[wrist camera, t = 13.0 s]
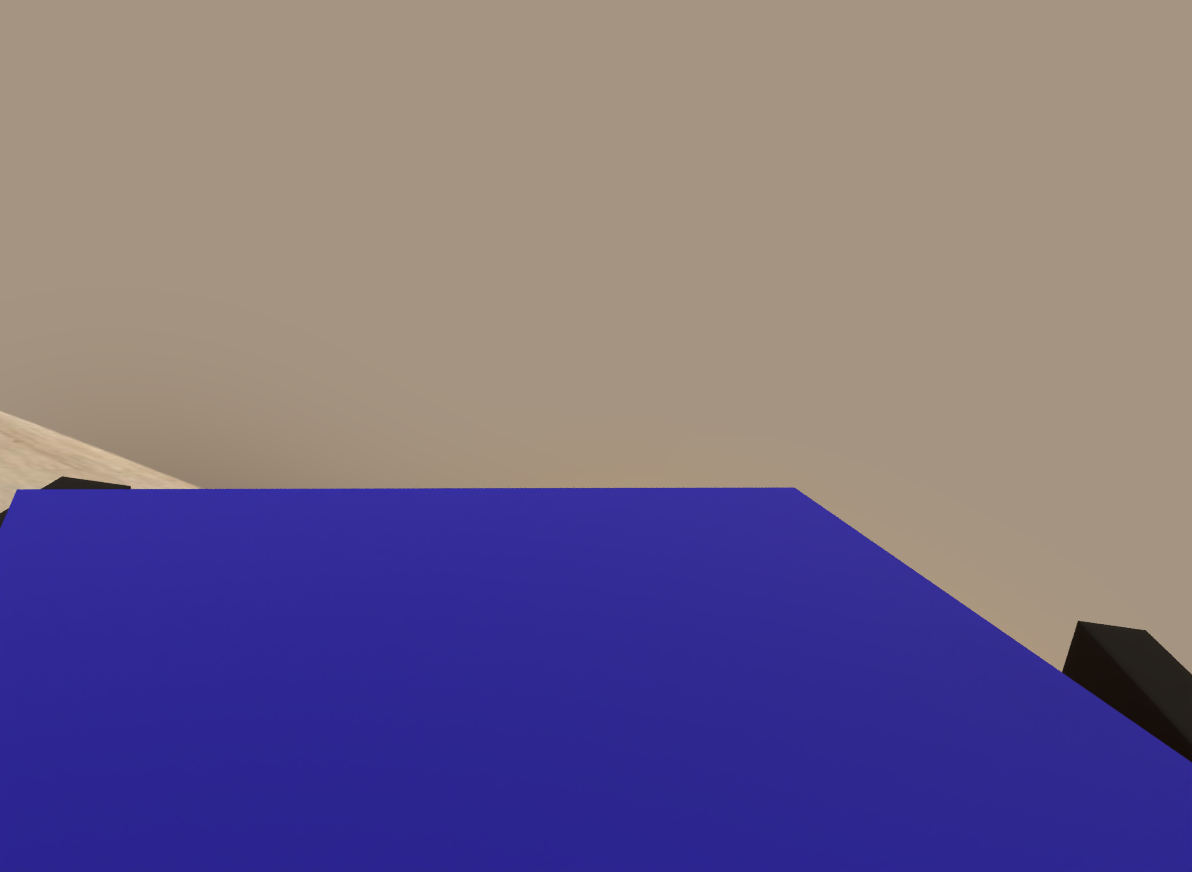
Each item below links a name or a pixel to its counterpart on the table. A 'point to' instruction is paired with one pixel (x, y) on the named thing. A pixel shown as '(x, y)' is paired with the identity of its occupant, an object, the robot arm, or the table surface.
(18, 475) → the table surface
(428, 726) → the cube
